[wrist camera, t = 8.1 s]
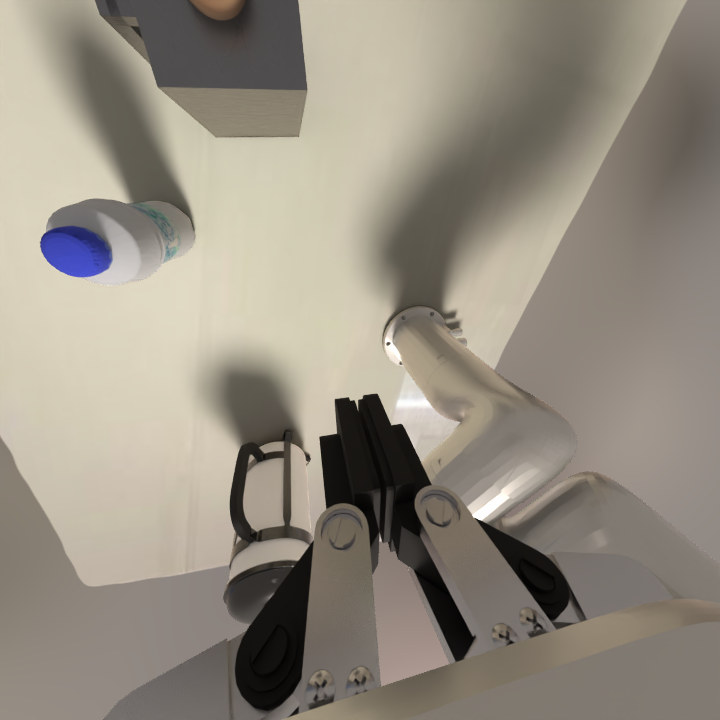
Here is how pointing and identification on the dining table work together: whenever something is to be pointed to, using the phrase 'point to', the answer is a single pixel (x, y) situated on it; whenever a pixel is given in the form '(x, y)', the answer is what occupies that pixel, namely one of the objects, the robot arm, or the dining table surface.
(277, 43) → the grey peg holder block
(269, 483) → the coffee press
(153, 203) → the bottle
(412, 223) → the dining table surface
